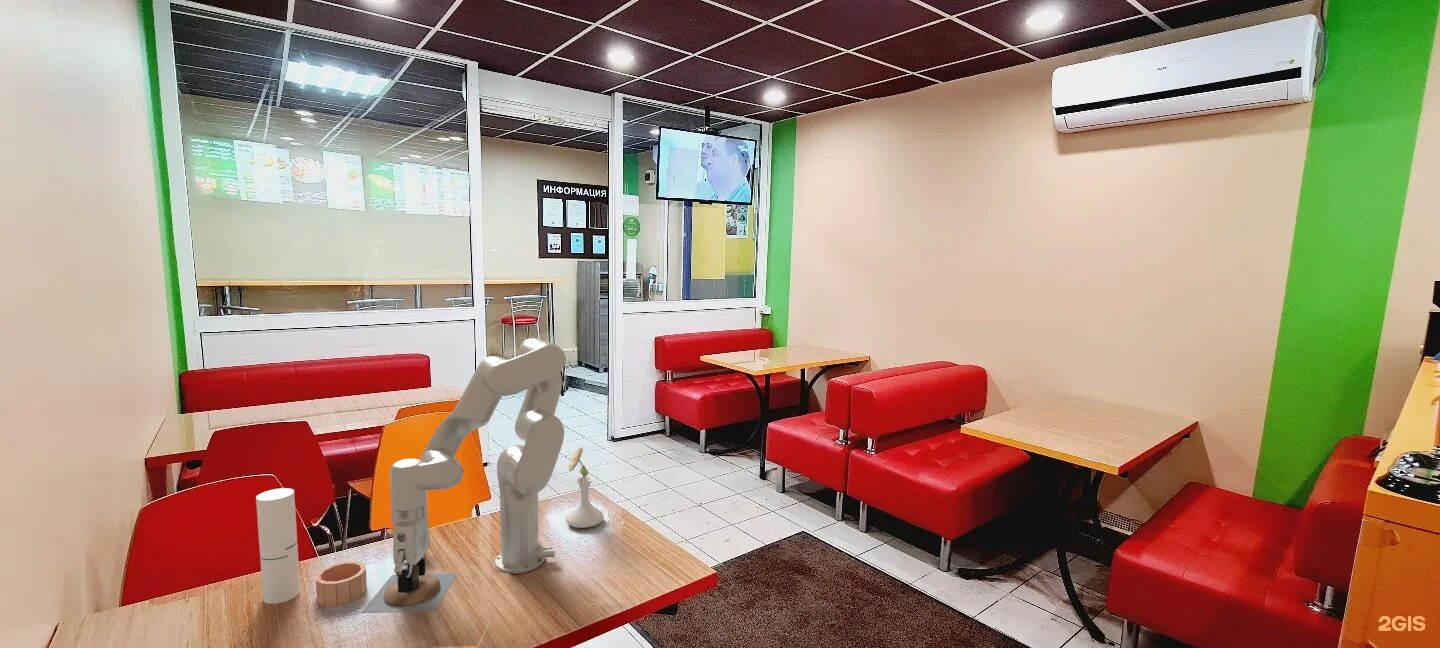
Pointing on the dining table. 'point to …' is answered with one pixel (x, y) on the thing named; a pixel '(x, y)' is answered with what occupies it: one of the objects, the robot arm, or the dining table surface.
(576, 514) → the flower in vase
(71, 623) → the dining table surface
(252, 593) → the dining table surface
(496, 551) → the dining table surface
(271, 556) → the cylindrical container
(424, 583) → the lid
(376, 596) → the mat
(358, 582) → the bowl
